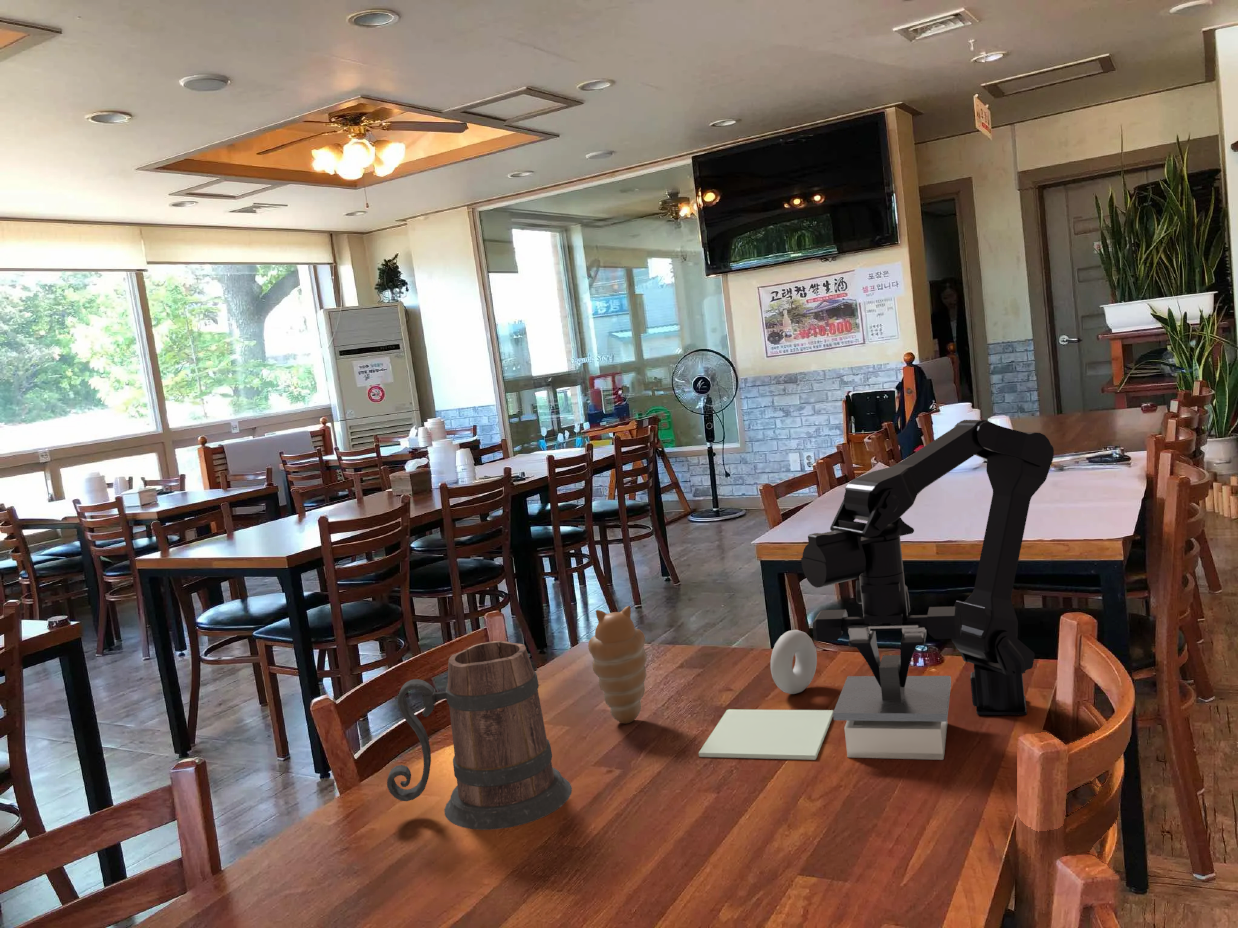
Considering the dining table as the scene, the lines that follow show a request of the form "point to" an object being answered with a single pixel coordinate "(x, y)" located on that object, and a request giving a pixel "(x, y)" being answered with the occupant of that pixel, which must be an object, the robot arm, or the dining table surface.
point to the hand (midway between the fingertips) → (892, 686)
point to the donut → (783, 659)
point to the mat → (768, 734)
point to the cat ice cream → (619, 663)
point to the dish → (896, 739)
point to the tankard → (489, 740)
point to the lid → (894, 696)
